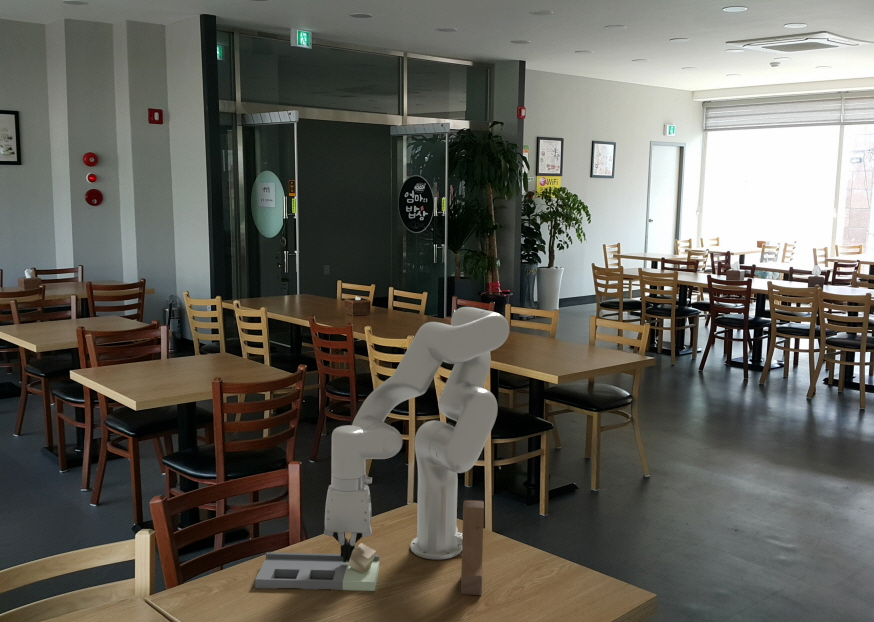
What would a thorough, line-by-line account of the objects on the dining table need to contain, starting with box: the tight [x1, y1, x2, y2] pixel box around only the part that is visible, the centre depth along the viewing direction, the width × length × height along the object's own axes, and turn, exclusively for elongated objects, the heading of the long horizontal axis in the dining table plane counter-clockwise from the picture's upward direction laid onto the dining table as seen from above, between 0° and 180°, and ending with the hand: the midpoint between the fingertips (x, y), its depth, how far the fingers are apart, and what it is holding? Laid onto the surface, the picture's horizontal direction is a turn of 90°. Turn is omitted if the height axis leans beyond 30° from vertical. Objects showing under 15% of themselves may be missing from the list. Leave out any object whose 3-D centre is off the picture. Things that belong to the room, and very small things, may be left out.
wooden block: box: [460, 499, 485, 596], centre depth 175 cm, size 9×4×18 cm, turn 177°
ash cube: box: [348, 542, 377, 574], centre depth 178 cm, size 4×4×4 cm
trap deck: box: [254, 552, 380, 592], centre depth 178 cm, size 26×11×3 cm, turn 89°
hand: (347, 559), depth 180 cm, fingers closed
